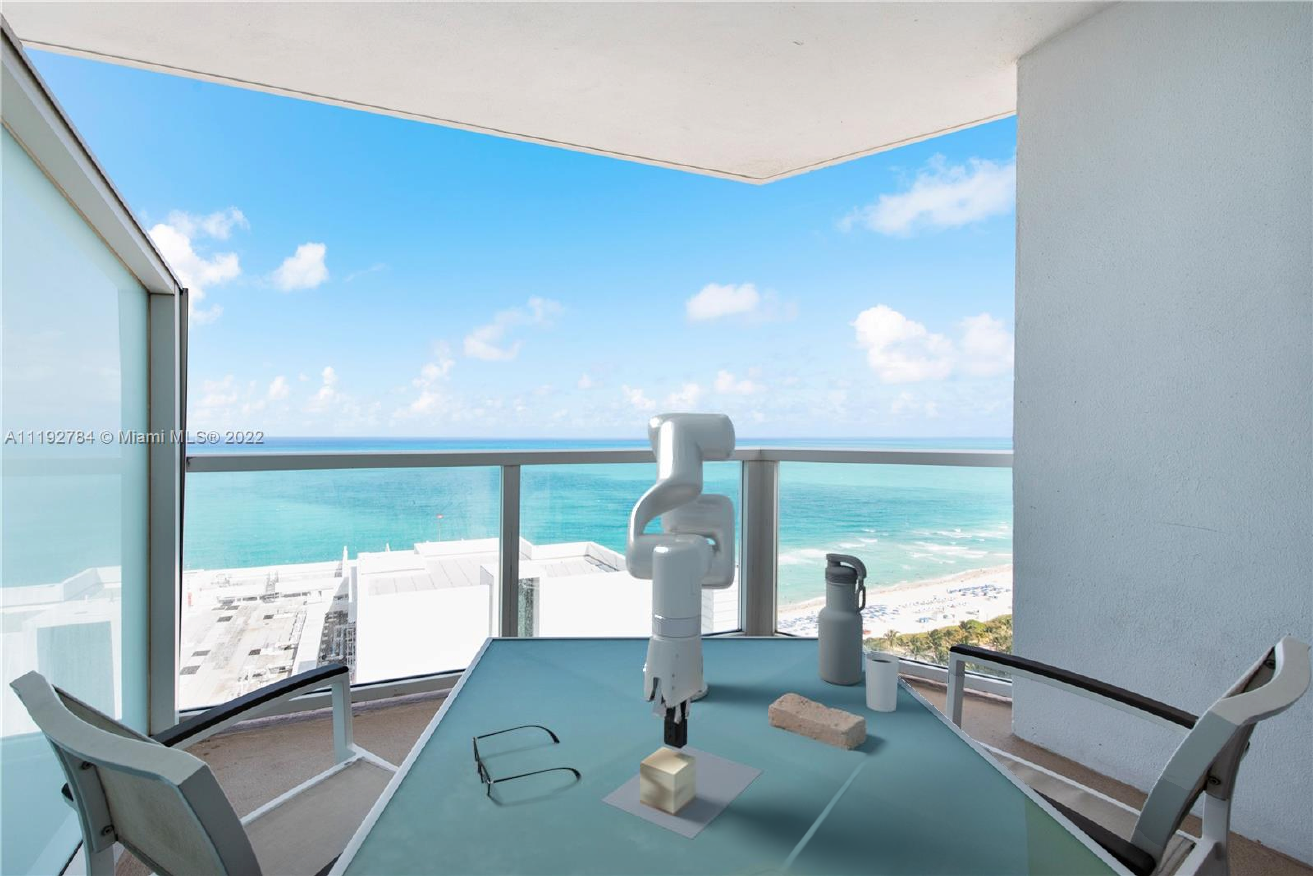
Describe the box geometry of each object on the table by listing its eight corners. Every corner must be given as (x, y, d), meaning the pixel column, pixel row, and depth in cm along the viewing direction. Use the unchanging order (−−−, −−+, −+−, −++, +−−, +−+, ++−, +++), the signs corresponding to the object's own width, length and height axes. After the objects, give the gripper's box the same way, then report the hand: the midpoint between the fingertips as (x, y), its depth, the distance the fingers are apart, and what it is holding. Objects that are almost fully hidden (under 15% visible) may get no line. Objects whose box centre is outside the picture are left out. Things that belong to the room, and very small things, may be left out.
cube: (662, 746, 102) (662, 784, 102) (640, 762, 97) (639, 802, 97) (695, 757, 99) (695, 797, 99) (674, 774, 94) (673, 816, 94)
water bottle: (868, 676, 151) (870, 554, 151) (857, 690, 143) (858, 561, 142) (825, 667, 156) (826, 550, 156) (811, 680, 148) (813, 556, 148)
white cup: (894, 715, 130) (895, 665, 130) (860, 708, 133) (861, 659, 133) (901, 704, 135) (902, 656, 135) (868, 697, 139) (869, 650, 139)
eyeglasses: (468, 757, 113) (468, 733, 113) (557, 740, 119) (558, 718, 119) (485, 807, 98) (485, 780, 98) (586, 784, 104) (586, 759, 104)
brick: (868, 739, 120) (868, 714, 120) (848, 756, 114) (848, 729, 114) (788, 714, 131) (788, 691, 131) (766, 728, 125) (766, 703, 125)
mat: (600, 804, 98) (600, 800, 98) (680, 747, 116) (680, 743, 116) (692, 843, 89) (692, 839, 89) (762, 774, 107) (762, 771, 107)
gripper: (682, 609, 108) (681, 720, 108) (627, 632, 96) (626, 757, 96) (722, 617, 104) (721, 732, 104) (670, 641, 91) (668, 772, 92)
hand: (675, 744), depth 100 cm, fingers closed
